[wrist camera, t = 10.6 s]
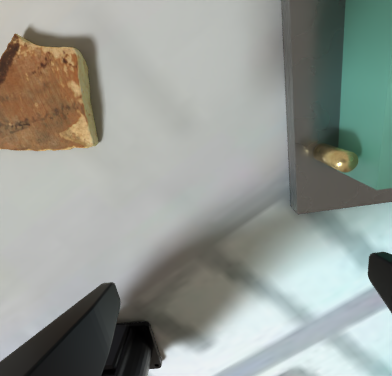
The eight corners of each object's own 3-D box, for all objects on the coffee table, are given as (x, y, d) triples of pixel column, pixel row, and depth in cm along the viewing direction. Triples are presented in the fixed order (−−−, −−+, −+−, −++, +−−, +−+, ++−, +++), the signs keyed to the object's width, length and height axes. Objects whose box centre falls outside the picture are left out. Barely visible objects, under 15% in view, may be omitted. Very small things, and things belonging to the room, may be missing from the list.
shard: (-26, 147, 19) (-48, 151, 17) (-61, 40, 16) (-91, 32, 15) (103, 147, 18) (92, 151, 17) (87, 37, 16) (73, 29, 14)
